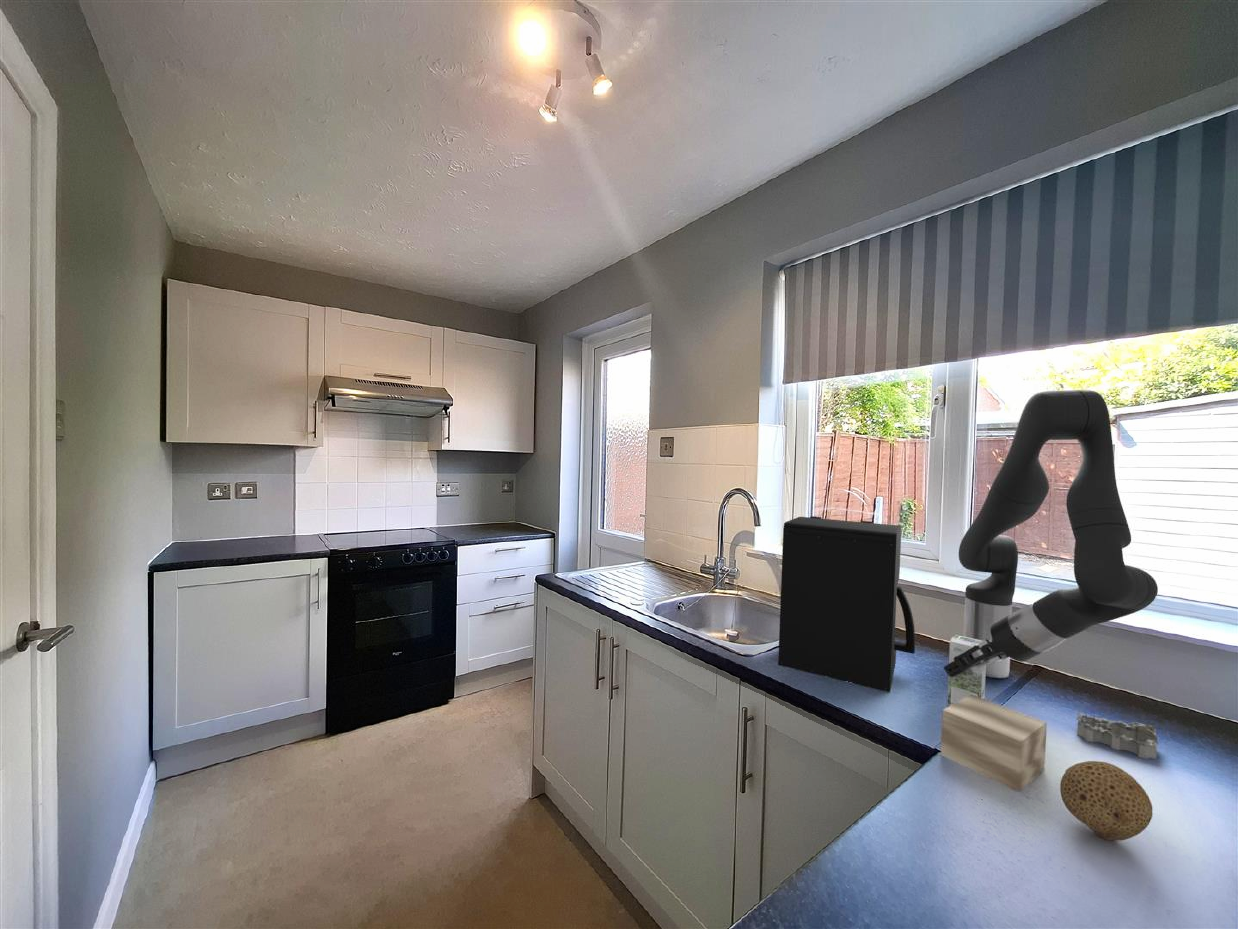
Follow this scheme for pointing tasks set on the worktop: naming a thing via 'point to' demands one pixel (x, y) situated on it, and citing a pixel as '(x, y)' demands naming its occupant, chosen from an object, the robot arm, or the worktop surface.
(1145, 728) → the egg carton
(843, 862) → the worktop surface
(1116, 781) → the natural sponge
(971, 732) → the wooden block
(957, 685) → the syrup box
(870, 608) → the coffee maker
